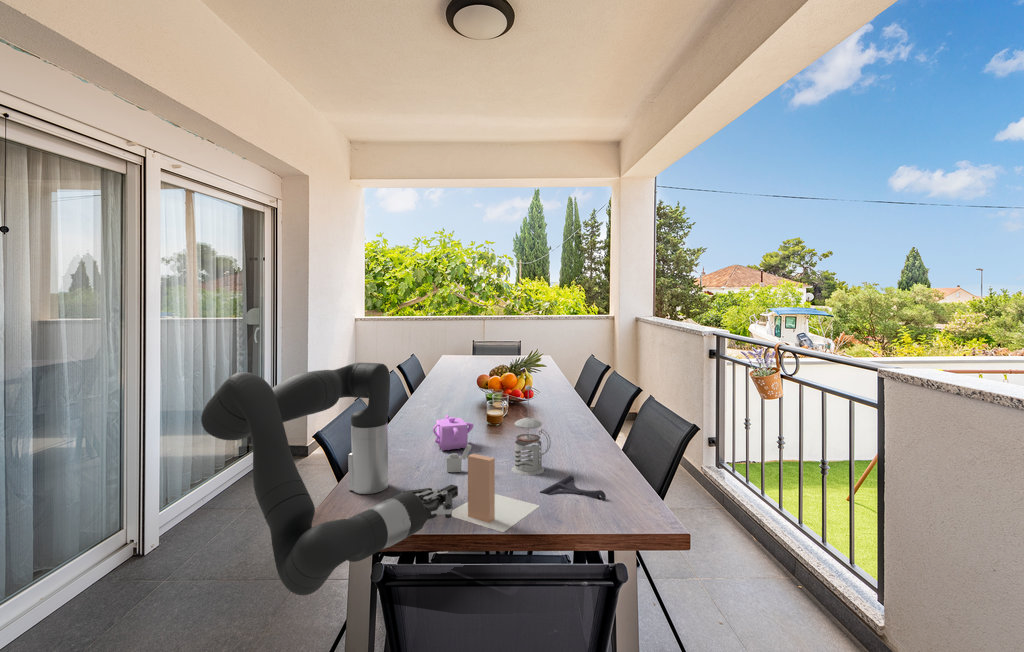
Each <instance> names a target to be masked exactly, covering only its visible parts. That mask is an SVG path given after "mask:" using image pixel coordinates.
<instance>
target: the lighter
mask: <svg viewBox="0 0 1024 652" xmlns="http://www.w3.org/2000/svg"><path fill="white" fill-rule="evenodd" d="M471 449H472V445H471V444H469V443H468V444H467V446H466V448H464V450H463V452H462V455H459V453H458V452H457V453H456V452H455V453H454V452H453V453H449V456H448V455H447V457H446V473H447V472H461V473H462V467H463V465H462V463H463V462H462V460H466V459H467V458H468V456H469V453H470V451H471ZM458 455H459V456H458Z"/></svg>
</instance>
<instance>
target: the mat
mask: <svg viewBox="0 0 1024 652" xmlns="http://www.w3.org/2000/svg"><path fill="white" fill-rule="evenodd" d="M538 508H540V505H538V504H535V503H532V502H527V501H524V500H519V499H515V498H512V497H509V496H505V495H501V494H497V493H495V520H493V521H492V522H490V523H488V522H485V521H482V520H478V519H475V518H472V517H468V501H466V502H465V503H463V504H461V505H458V507H456V508H455V509H452V517H451V518H455V519H458V520H461V521H465V522H467V523H468V522H469V523H472V524H475V525H477V526H478V525H479V526H481V527H484V528H488V529H491V530H494V531H497V532H501V533H505V532H506V531H507V530H509V529H510V528H512V527H513V526H515V525H516V524H518V522H520V521H521V520H523V519H525V518H526V517H527V516H528V515H530V514H531V513H533V512H534V511H535V510H537V509H538Z"/></svg>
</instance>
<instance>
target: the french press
mask: <svg viewBox="0 0 1024 652" xmlns="http://www.w3.org/2000/svg"><path fill="white" fill-rule="evenodd" d="M524 389H525V390H526V391H527V417H524V418H521V419H517V420H516V421H515V422H514V423H513V424H514V426H515V427H516V428H519V429H527V430H529V429H531V430H533V429H538V428H540V427H541V426H542V425H543V423H542V422H541V421H540V420H539V419H537V418H533V417H529V415H530V414H529V413H530V411H529V409H530V407H529V404H530V403H529V401H530V399H529V397H530V395H529V394H530V393H529V391H530V390H532V386H531V385H529V384H527V385H525V388H524ZM542 434H543V435H544V436H545V438H546V441H547V446H546V449H545V451H544V452H543V453H542V441H541V440H540V439H541V435H542ZM515 439H516V440H515V443H514V465H513V467H511V472H512V471H513V473H514V472H515V473H514V474H516V473H517V475H519V474H520V476H527V475H529V476H537V475H536V474H538V475H541V474H543V473H544V472H545V471H544V469H545V468H544V467H543V466H542V463H543V461H542V460H543V459H542V458H543V457H542V456H543V455H545V454H547V453H548V452H549V450H550V448H551V444H549V443H551V441H552V440H551V437H550V435H549V433H548V432H547V431H546V430H545V429H543V428H541V429H540V430H539V431H538V434H534V433H524V434H523V433H520V434H518V435H516V436H515ZM527 450H528V451H527ZM522 455H523V456H522ZM524 459H525V460H524Z"/></svg>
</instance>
